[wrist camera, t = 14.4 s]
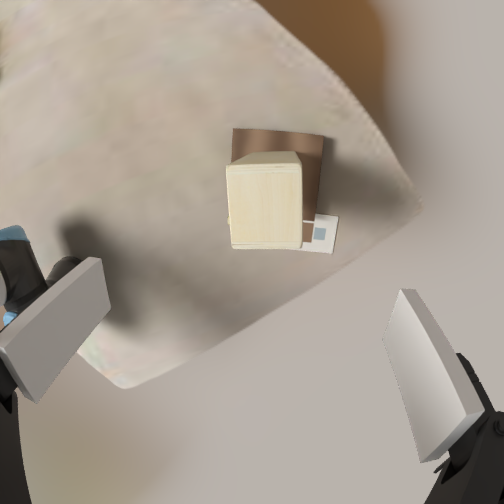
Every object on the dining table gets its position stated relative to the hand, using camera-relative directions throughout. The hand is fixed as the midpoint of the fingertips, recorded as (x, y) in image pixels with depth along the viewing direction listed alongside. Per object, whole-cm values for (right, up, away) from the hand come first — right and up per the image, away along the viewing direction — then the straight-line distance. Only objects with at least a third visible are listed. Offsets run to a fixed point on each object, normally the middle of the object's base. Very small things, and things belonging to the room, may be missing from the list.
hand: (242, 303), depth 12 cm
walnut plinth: (+4, +15, +35) cm, 38 cm away
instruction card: (+11, +6, +38) cm, 40 cm away
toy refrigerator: (+4, +14, +32) cm, 36 cm away
